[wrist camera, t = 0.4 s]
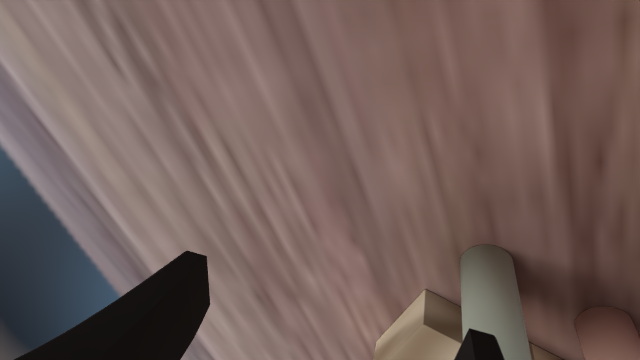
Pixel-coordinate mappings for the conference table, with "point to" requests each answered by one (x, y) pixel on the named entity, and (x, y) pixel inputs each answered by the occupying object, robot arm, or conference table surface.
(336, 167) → the conference table surface
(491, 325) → the long pin
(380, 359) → the hole plate
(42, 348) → the robot arm
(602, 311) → the short pin
